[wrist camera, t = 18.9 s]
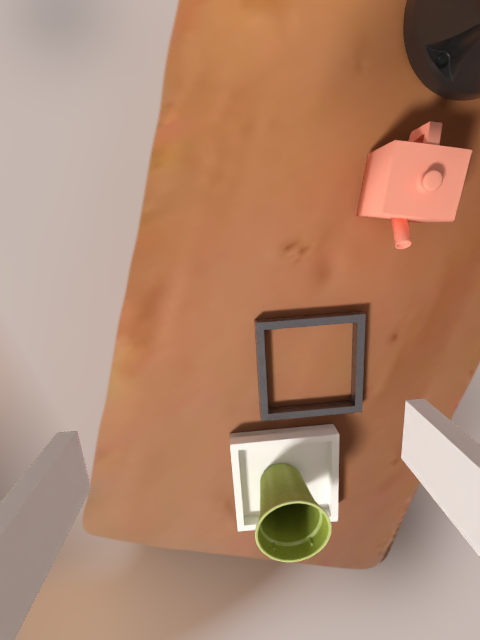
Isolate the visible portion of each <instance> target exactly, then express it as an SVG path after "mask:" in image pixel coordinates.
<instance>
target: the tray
mask: <svg viewBox="0 0 480 640" xmlns="http://www.w3.org/2000/svg"><path fill="white" fill-rule="evenodd" d="M230 450H231V461H232V472H233V483H234V494H235V505H236V516H237V527H238V531H248V530H255V529H256V525H257V522H258V519H259V515H260V479H261V476H262V474H263V473H264V472H266V471H267V469H268V468H269V467H270V466H272V465H275V464H280V463H285V464H290V465H291V466H293V467H294V468H296V469H297V470H298V471H299V472H300V474H301V476H302V478H303V480H304V482H305V484H306V485H307V487H308V489H309V491H310V493H311V495H312V496H313V498H314V500H315V501H316V502H317V503H318V505H319V506H320V507H322V508H323V509H324V510H325V512H326V513H327V515H328V516H329V519H330V522H333V521H338V486H339V433H338V431H337V429H336V428H335V426H334V424H325V425H315V426H304V427H293V428H283V429H272V430H262V431H251V432H240V433H230Z"/></svg>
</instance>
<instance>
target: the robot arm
mask: <svg viewBox="0 0 480 640" xmlns="http://www.w3.org/2000/svg"><path fill="white" fill-rule="evenodd" d="M404 41H405V47H406V52H407V55H408V58H409V61H410V64H411V66H412V68H413V70H414V72H415V73H416V75H417V76H418V78H419V79H420V80H421V81H422V83H423V84H424V85H425V86H426V87H428V88H429V89H430V90H431V91H433V92H434V93H436V94H438V95H440V96H442V97H445V98H448V99H452V100H472V99H477V98H480V0H407V3H406V8H405V14H404ZM401 458H402V460H403V461H404V462H405V463H406V465H407V466H408V467H409V468H410V470H411V471H412V472H413V473H414V475H415V476H416V477H417V478H418V480H419V481H420V482H421V483H422V485H423V486H424V487H425V488H426V490H427V491H428V492H429V493H430V495H431V496H432V497H433V499H434V500H435V501H436V502H437V504H438V505H439V506H440V507H441V509H442V510H443V511H444V512H445V514H446V515H447V516H448V517H449V519H450V520H451V521H452V522H453V524H454V525H455V526H456V527H457V529H458V530H459V531H460V533H461V534H462V535H463V536H464V538H465V539H466V540H467V541H468V543H469V544H470V545H471V546H472V548H473V549H474V550H475V552H476V553H477V554H478V555H479V556H480V445H479V444H478V443H477V442H476V441H475V440H474V439H472V438H471V437H470V436H469V435H467V434H466V433H465V432H464V431H463V430H461V429H460V428H459V427H458V426H457V425H455V424H454V423H453V422H452V421H451V420H449V419H448V418H447V417H446V416H445V415H443V414H442V413H441V412H440V411H438V410H437V409H436V408H435V407H434V406H432V405H431V404H430V403H429V402H428V401H426V400H425V399H417V400H406V405H405V418H404V430H403V443H402V456H401ZM90 489H91V487H90V483H89V478H88V474H87V470H86V466H85V462H84V457H83V454H82V449H81V445H80V441H79V436H78V432H77V431H71V432H60V433H57V434H56V435H55V436H54V437H53V439H52V440H51V441H50V442H49V444H48V445H47V446H46V447H45V448H44V450H43V451H42V452H41V453H40V455H39V456H38V457H37V458H36V460H35V461H34V462H33V463H32V464H31V466H30V467H29V468H28V469H27V470H26V472H25V473H24V474H23V475H22V477H21V478H20V479H19V480H18V482H17V483H16V484H15V485H14V486H13V488H12V489H11V490H10V491H9V493H8V494H7V495H6V496H5V497H4V499H3V500H2V501H1V502H0V640H14V639H15V637H16V635H17V633H18V631H19V629H20V628H21V626H22V623H23V621H24V620H25V618H26V615H27V614H28V612H29V610H30V608H31V606H32V604H33V602H34V600H35V598H36V596H37V593H38V592H39V590H40V588H41V586H42V584H43V582H44V580H45V578H46V576H47V574H48V572H49V570H50V568H51V566H52V564H53V562H54V560H55V558H56V556H57V555H58V553H59V551H60V549H61V547H62V545H63V543H64V541H65V539H66V537H67V535H68V533H69V531H70V529H71V527H72V525H73V523H74V521H75V519H76V517H77V515H78V513H79V511H80V509H81V507H82V505H83V503H84V501H85V499H86V497H87V495H88V493H89V491H90Z"/></svg>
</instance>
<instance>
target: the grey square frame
mask: <svg viewBox="0 0 480 640" xmlns="http://www.w3.org/2000/svg"><path fill="white" fill-rule="evenodd" d="M254 322H255V339H256V355H257V372H258V389H259V406H260V417H261V421H269V420H280V419H291V418H302V417H312V416H323V415H334V414H345V413H355V412H362V400H363V374H364V348H365V322H366V314H365V313H363V312H361V311H357V312H344V313H332V314H320V315H308V316H296V317H283V318H271V319H259V320H254ZM343 323H353V341H352V378H351V401H340V402H330V403H319V404H308V405H297V406H286V407H275V408H268V399H267V380H266V361H265V341H264V330H270V329H282V328H294V327H306V326H318V325H331V324H343Z"/></svg>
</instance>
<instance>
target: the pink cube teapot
mask: <svg viewBox="0 0 480 640" xmlns="http://www.w3.org/2000/svg"><path fill="white" fill-rule="evenodd" d="M442 124H443V123H440V122H432V121H430V122H428V123H426V124H424V125H423V126H421V127H419V128H417V129H416V130H414V131H412V132H411V134H410V137H409V140H408V141H401V140H394V141H392V142H390V143H388V144H386V145H384V146H383V147H381V148H379V149H377V150H375V151H373V152H371V153H369V154H368V156H367V162H366V167H365V173H364V178H363V183H362V189H361V194H360V200H359V205H358V211H357V216H362V217H371V218H380V219H389V220H391V221H392V227H393V233H394V239H395V245H396V248H397V249H405V248H407V247H409V246H410V245H411V238H410V232H409V225H408V222H417V223H425V222H451V221H454V219H455V215H456V211H457V208H458V204H459V200H460V196H461V193H462V189H463V185H464V181H465V177H466V174H467V170H468V166H469V162H470V158H471V154H472V151H473V150H471V149H463V148H455V147H448V146H440V138H441V131H442Z"/></svg>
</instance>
